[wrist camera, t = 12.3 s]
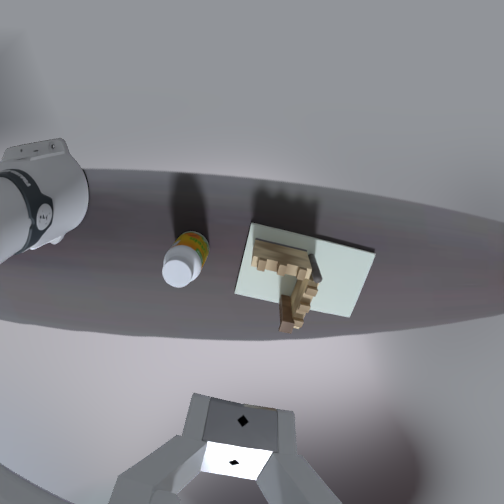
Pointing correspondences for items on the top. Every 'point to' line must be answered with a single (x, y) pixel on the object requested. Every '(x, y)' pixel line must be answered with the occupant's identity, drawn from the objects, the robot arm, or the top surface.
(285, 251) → the fence fixed
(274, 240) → the card
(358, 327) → the top surface
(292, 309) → the notched wooden plank
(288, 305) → the corner post
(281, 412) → the robot arm
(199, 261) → the supplement bottle
